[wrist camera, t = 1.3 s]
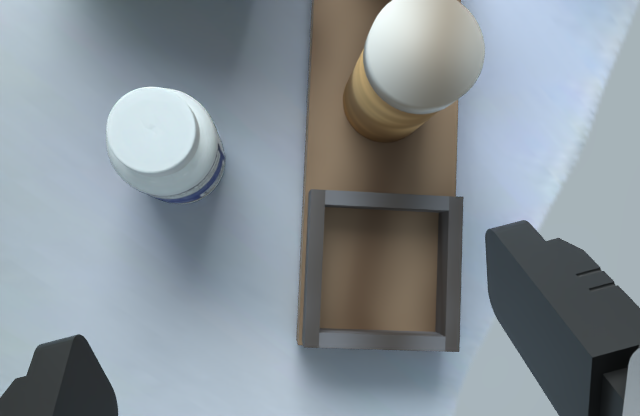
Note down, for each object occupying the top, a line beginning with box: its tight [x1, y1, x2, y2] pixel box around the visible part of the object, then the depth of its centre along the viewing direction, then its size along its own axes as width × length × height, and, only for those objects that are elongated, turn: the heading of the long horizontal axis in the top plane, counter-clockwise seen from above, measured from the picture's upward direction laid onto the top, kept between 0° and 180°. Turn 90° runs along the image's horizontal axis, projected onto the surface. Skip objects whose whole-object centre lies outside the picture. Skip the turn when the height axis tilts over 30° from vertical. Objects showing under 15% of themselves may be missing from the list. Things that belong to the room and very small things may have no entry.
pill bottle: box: [106, 87, 225, 204], centre depth 31 cm, size 5×5×10 cm
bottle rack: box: [297, 0, 485, 352], centre depth 32 cm, size 9×29×12 cm, turn 177°
